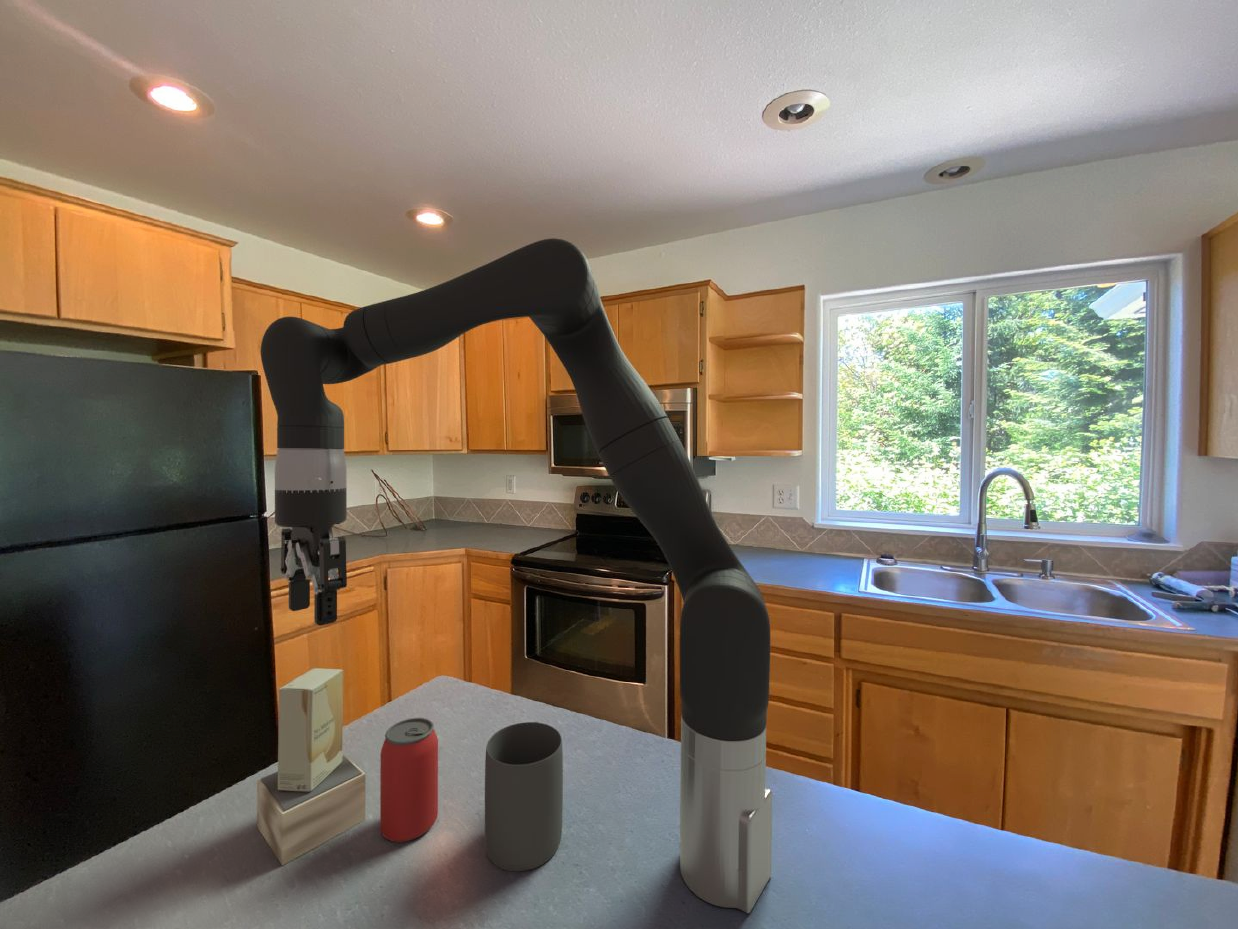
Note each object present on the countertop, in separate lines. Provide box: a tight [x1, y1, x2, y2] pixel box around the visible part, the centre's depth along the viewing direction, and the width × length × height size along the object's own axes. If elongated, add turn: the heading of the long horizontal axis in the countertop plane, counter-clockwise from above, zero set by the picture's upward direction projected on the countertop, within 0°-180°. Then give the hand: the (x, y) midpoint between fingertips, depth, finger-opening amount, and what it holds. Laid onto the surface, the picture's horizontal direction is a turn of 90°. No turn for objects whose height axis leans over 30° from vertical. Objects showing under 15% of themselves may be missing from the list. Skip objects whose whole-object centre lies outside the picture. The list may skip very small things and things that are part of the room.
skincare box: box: [277, 667, 344, 792], centre depth 61 cm, size 6×4×12 cm
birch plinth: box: [256, 752, 366, 866], centre depth 61 cm, size 9×9×6 cm
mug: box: [484, 721, 564, 872], centre depth 60 cm, size 14×9×12 cm
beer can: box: [379, 717, 439, 843], centre depth 61 cm, size 7×7×12 cm
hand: (312, 616), depth 60 cm, fingers open, 8 cm apart
